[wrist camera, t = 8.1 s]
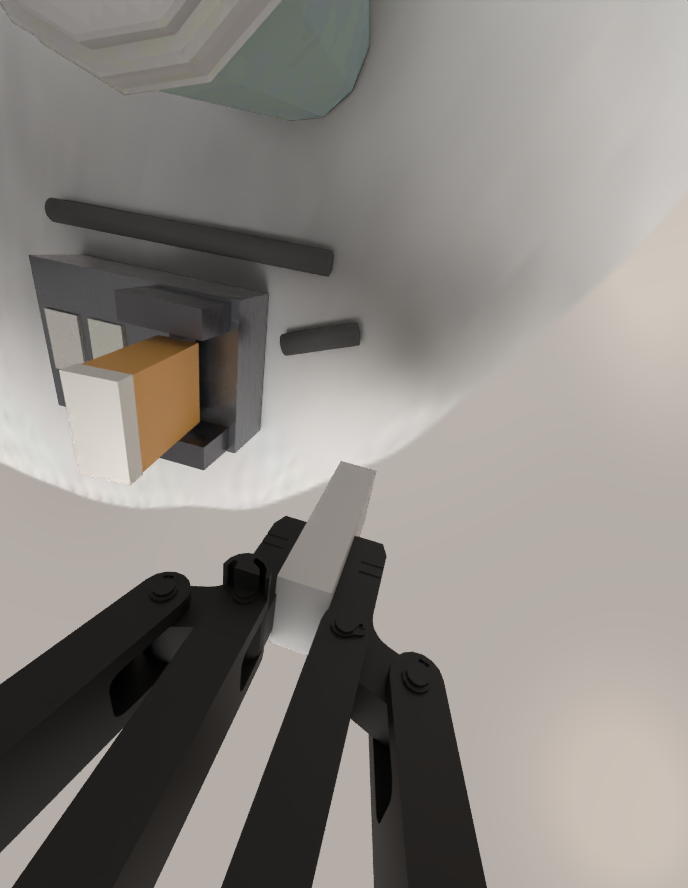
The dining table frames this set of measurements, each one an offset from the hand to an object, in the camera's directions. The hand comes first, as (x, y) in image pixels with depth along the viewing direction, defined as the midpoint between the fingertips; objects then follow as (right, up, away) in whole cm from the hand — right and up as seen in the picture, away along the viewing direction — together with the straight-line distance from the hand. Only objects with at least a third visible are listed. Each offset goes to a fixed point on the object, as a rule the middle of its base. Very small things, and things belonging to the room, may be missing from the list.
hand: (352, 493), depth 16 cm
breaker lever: (-10, +6, +8) cm, 14 cm away
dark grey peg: (-2, +9, +10) cm, 13 cm away
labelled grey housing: (-13, +9, +12) cm, 20 cm away
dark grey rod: (-10, +15, +9) cm, 20 cm away
